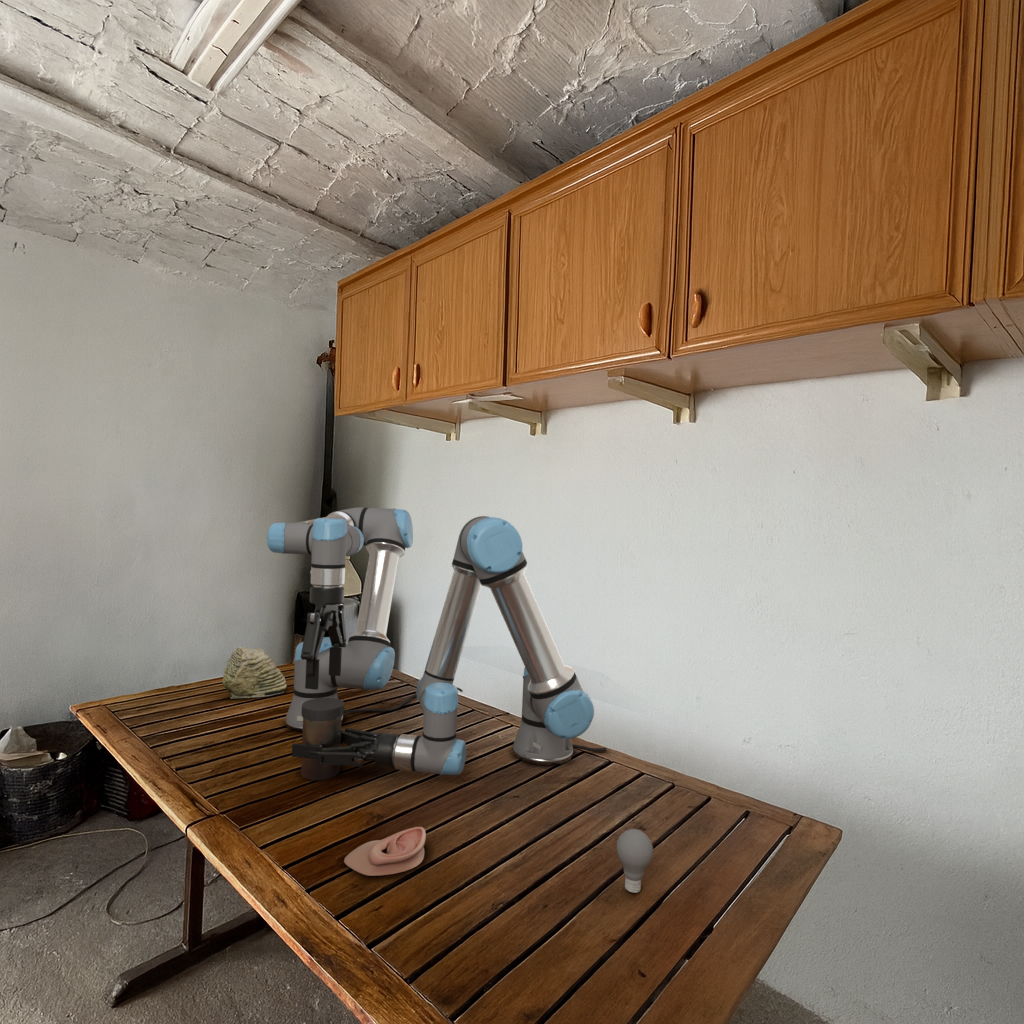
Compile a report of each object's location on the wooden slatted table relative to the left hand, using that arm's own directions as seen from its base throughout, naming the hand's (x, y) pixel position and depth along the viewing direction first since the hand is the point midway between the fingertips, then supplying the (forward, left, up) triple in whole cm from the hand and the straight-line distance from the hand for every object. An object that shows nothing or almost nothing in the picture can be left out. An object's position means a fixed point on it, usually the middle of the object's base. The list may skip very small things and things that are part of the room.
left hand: (323, 681), depth 145 cm
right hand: (+2, -4, -14) cm, 15 cm away
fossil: (-18, -62, -21) cm, 68 cm away
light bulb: (-9, +75, -21) cm, 78 cm away
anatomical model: (+13, +38, -21) cm, 45 cm away
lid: (0, 0, -5) cm, 5 cm away
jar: (0, 0, -21) cm, 21 cm away
